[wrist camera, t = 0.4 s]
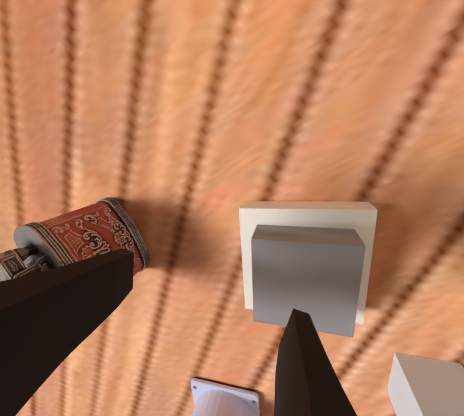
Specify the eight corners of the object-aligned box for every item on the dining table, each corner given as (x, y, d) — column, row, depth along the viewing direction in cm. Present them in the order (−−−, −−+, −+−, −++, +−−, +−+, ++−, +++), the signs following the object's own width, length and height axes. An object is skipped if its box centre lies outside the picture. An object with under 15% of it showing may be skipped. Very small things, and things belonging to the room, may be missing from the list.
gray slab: (345, 309, 17) (353, 337, 14) (258, 298, 18) (253, 321, 16) (354, 229, 15) (365, 246, 12) (257, 224, 16) (251, 238, 14)
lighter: (93, 204, 23) (-46, 252, 13) (115, 191, 21) (-20, 234, 12) (133, 271, 24) (33, 356, 15) (157, 262, 23) (63, 350, 13)
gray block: (448, 402, 19) (503, 499, 14) (387, 390, 20) (418, 475, 15) (460, 362, 18) (526, 454, 13) (394, 352, 19) (430, 431, 14)
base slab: (354, 301, 19) (363, 324, 17) (250, 289, 21) (245, 308, 19) (365, 199, 16) (377, 209, 14) (245, 199, 19) (238, 208, 16)
